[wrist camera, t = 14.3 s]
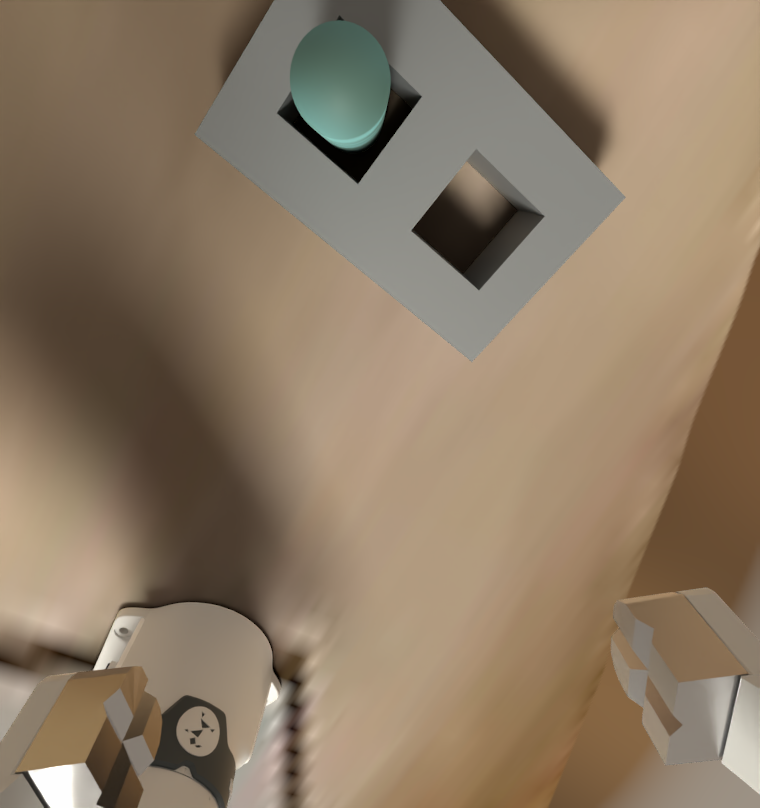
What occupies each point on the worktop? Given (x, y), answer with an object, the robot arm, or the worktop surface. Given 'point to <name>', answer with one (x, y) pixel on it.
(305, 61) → the teal peg
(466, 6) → the worktop surface
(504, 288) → the socket block
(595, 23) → the worktop surface
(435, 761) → the worktop surface
